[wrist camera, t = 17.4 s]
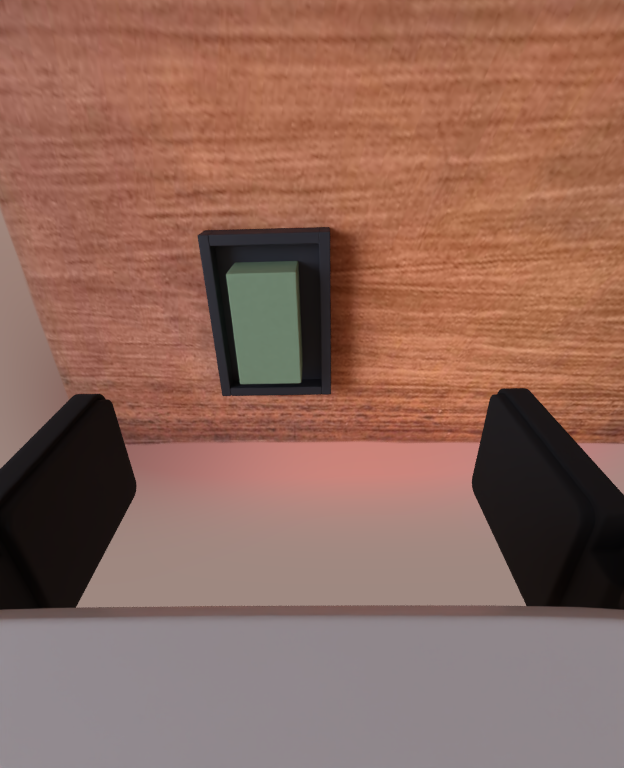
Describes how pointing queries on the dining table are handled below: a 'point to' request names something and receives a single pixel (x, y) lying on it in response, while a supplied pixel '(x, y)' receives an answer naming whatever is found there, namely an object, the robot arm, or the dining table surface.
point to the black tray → (314, 300)
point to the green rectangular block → (266, 321)
